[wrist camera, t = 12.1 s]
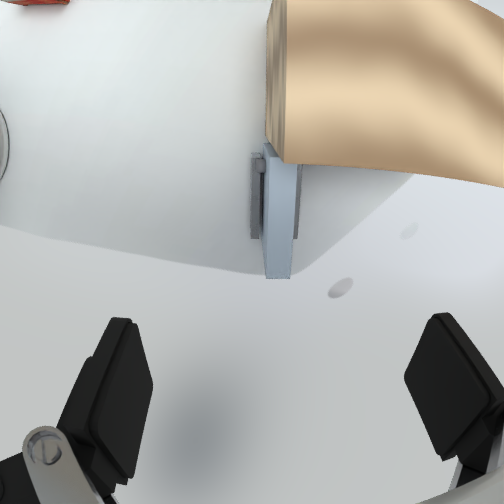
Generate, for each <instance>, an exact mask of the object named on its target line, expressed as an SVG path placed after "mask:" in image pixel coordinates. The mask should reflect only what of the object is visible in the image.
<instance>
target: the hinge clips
mask: <svg viewBox="0 0 504 504" xmlns="http://www.w3.org/2000/svg"><path fill="white" fill-rule="evenodd" d="M256 159H261V157H260V153H251V223H250V229H251V239H259V215H260V173H256ZM301 175H302V164H297V181H296V200H295V216H294V231H293V239H297V235H298V222H299V208H300V192H301Z"/></svg>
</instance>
